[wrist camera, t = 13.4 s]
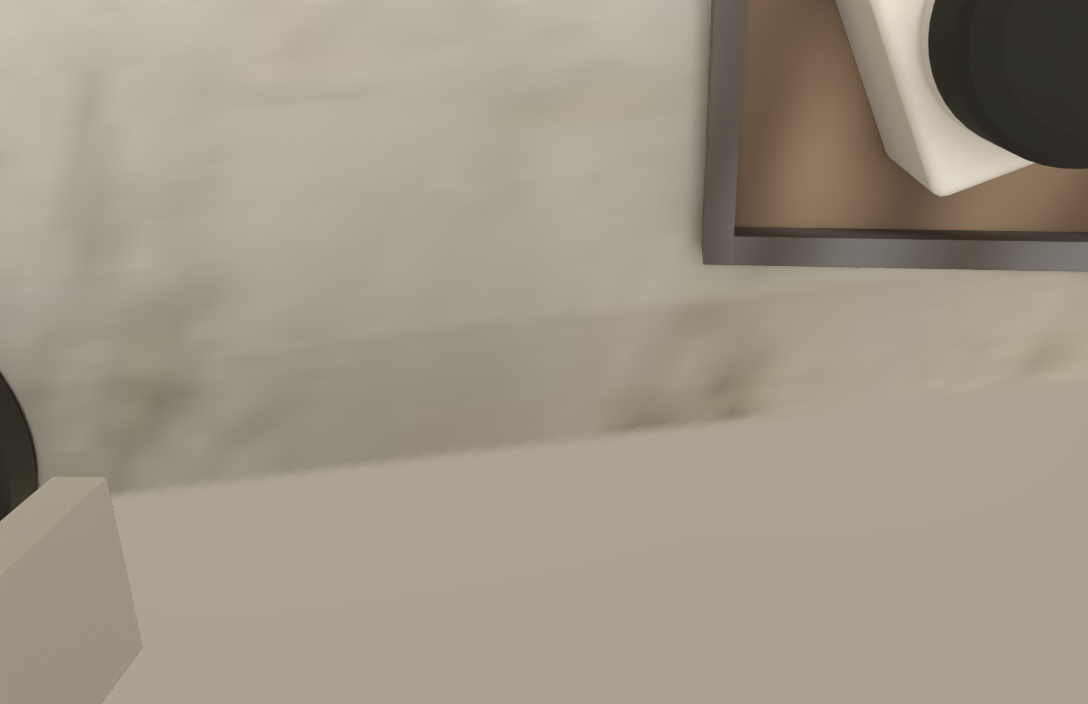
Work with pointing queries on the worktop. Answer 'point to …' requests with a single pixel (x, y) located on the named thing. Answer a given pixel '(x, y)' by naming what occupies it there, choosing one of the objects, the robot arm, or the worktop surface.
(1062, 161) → the medicine bottle
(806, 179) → the wooden tray
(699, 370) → the worktop surface
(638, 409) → the worktop surface
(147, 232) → the worktop surface
